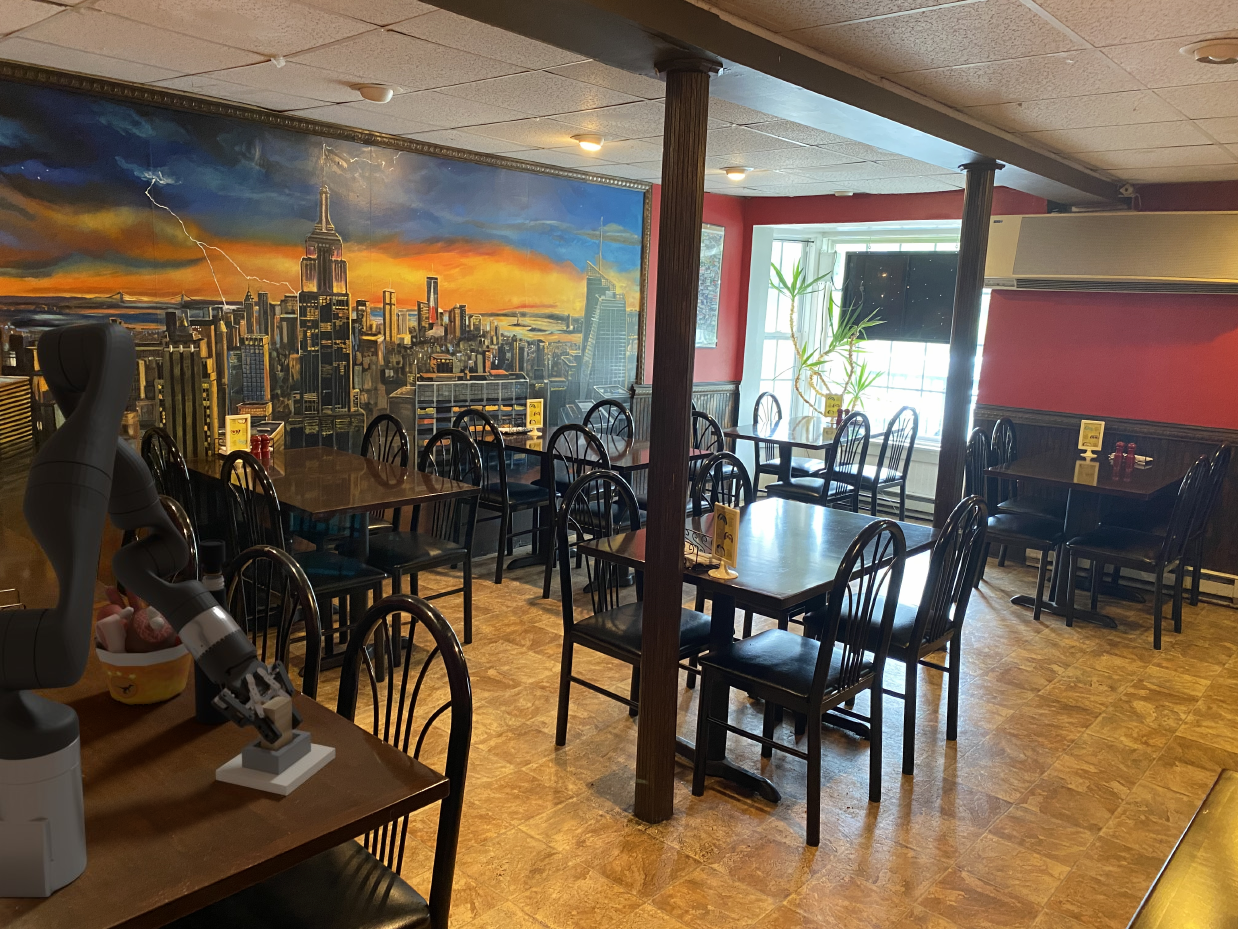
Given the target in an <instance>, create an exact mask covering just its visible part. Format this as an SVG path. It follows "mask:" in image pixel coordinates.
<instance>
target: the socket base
mask: <svg viewBox="0 0 1238 929" xmlns="http://www.w3.org/2000/svg"><path fill="white" fill-rule="evenodd" d="M335 758H336V748H335V747H331V746H326V745H322V744H315V743H312V732H309V731H304V730H299V729H294V730H292V741H291V742H290V743H289V744H287V745H286V746H284V747H283V748H282V749H280V750H279V751H277V752H276V751H271V750H267V749H262V748H261V735H259V736H258V737H257V738H255V739H254V740H252V741H250V742H249V743H247V744H246V745H245V746H243V747H241V753H239V754H238V755H236V756H235V757H234V758H232V759H230V760H229V761H228V762H226V763H225V764H223V765H221V766H220V767H219V768H216V770H215V780H216V781H219V782H224V783H228V784H234V785H238V786H242V787H247V788H251V789H255V790H260V791H263V792H264V791H265V792H269V793H273V794H277V795H282V796H286V797H287V796H289V795H290V794H291V793H293V791H295V790H296V789H297V788H299V787H300V786H301V785H302V784H304V783H305V782H306V781H307V780H309V779H310V778H312V776H314V775H315V774H316V773H318V772H319V771H320V770H321V769H323V768H324V767H325V766H326V765H328V764H329V763H330V762H331V761H333V760H334V759H335Z"/></svg>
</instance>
